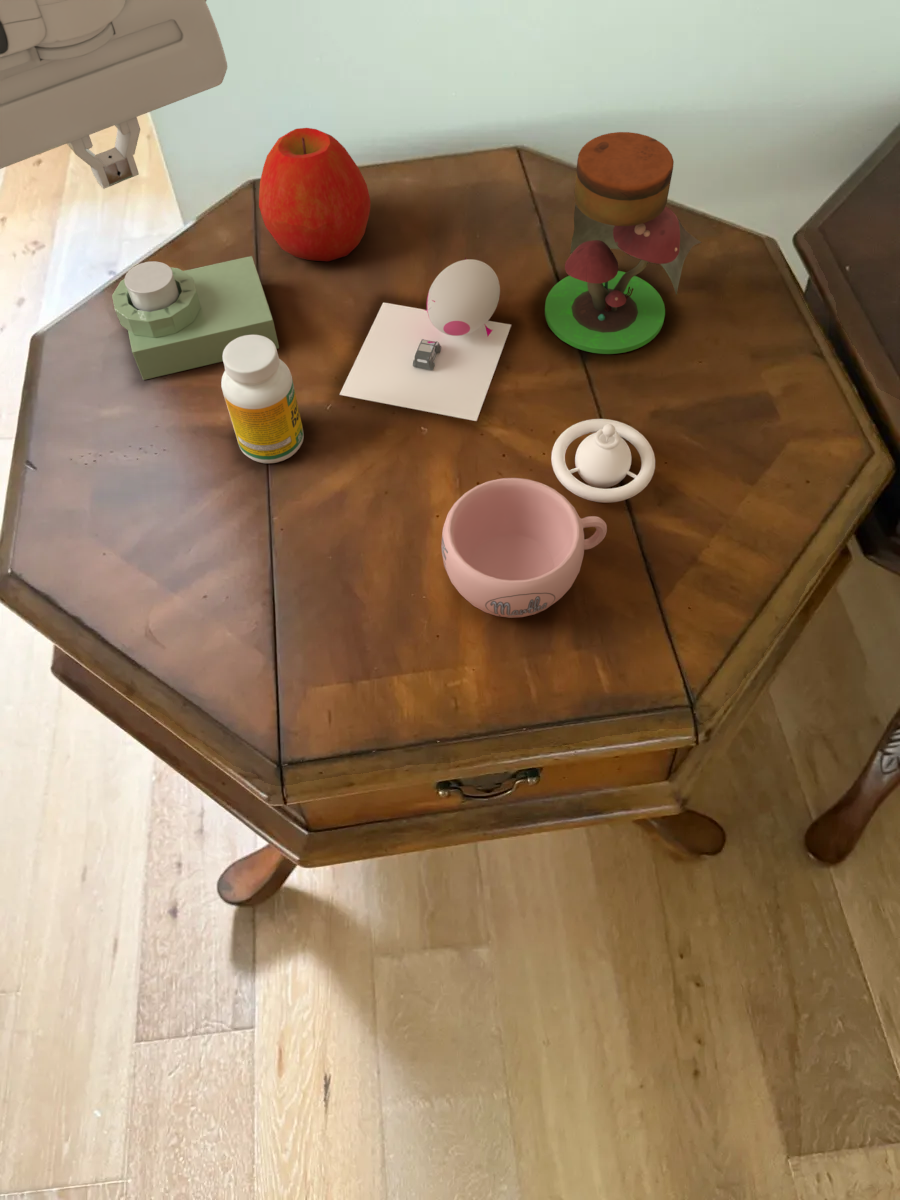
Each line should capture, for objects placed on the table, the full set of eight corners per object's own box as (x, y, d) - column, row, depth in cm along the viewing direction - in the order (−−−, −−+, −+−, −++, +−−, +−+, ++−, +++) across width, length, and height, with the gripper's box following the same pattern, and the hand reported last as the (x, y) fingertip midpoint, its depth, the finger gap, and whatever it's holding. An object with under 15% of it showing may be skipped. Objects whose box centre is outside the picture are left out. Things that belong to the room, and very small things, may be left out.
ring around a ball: (619, 423, 79) (531, 455, 77) (630, 373, 74) (536, 406, 73) (670, 494, 75) (579, 529, 74) (684, 446, 70) (588, 483, 69)
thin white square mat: (511, 324, 86) (511, 311, 85) (476, 421, 80) (476, 408, 78) (383, 302, 88) (381, 288, 87) (339, 394, 82) (337, 381, 80)
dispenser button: (135, 316, 81) (127, 297, 79) (128, 287, 83) (121, 267, 81) (182, 306, 81) (176, 286, 80) (175, 276, 83) (168, 256, 82)
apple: (257, 218, 95) (235, 116, 86) (359, 197, 97) (347, 94, 88) (279, 284, 90) (257, 181, 81) (386, 260, 91) (376, 157, 82)
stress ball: (462, 322, 91) (425, 260, 87) (530, 302, 85) (493, 235, 82) (425, 371, 87) (384, 309, 83) (493, 353, 81) (452, 285, 78)
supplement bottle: (234, 425, 80) (206, 335, 72) (297, 410, 81) (277, 320, 73) (245, 473, 77) (218, 385, 69) (311, 457, 78) (292, 368, 70)
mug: (461, 648, 68) (460, 603, 63) (429, 539, 73) (425, 488, 68) (624, 611, 69) (635, 564, 64) (580, 506, 75) (588, 455, 70)
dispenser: (137, 381, 83) (119, 336, 79) (124, 314, 88) (106, 268, 84) (279, 348, 85) (269, 302, 81) (258, 284, 90) (248, 238, 86)
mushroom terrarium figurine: (661, 376, 82) (695, 221, 69) (521, 340, 85) (529, 185, 72) (695, 289, 88) (732, 132, 75) (563, 258, 91) (577, 101, 78)
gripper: (174, -85, 66) (220, 111, 77) (-124, 11, 60) (-26, 208, 71) (217, -50, 63) (258, 148, 74) (-92, 54, 57) (5, 252, 69)
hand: (117, 178), depth 73 cm, fingers closed
